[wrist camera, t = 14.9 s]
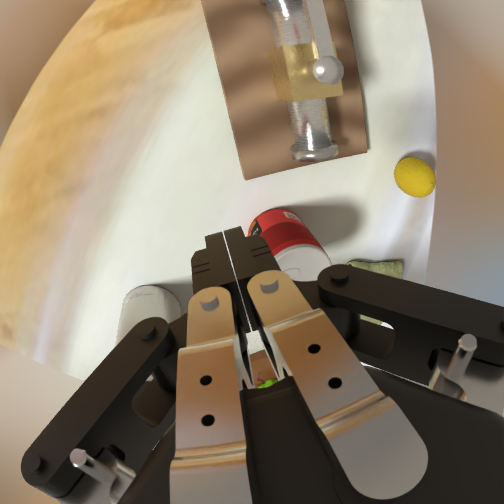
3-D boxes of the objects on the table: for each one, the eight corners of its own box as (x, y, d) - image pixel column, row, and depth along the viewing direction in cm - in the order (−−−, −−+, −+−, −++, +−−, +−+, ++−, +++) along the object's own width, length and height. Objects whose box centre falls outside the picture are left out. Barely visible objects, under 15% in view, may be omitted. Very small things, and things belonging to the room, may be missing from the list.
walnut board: (361, 150, 39) (367, 152, 38) (243, 176, 38) (245, 180, 37) (334, -15, 27) (339, -18, 25) (200, -4, 26) (200, -7, 24)
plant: (298, 330, 55) (318, 377, 46) (323, 377, 66) (340, 416, 56) (203, 372, 57) (209, 420, 47) (245, 410, 67) (255, 450, 58)
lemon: (408, 146, 40) (443, 161, 34) (414, 177, 43) (446, 196, 37) (381, 158, 41) (414, 175, 34) (388, 190, 44) (419, 211, 37)
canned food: (240, 215, 41) (258, 259, 32) (297, 200, 42) (330, 237, 32) (252, 262, 45) (271, 311, 36) (304, 246, 46) (334, 291, 36)
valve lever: (339, 82, 25) (346, 83, 24) (312, 85, 25) (319, 86, 24) (308, -48, 17) (314, -53, 16) (280, -48, 17) (285, -53, 16)
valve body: (326, 145, 37) (359, 162, 30) (285, 153, 37) (311, 173, 30) (298, -4, 26) (328, -23, 19) (252, -1, 26) (272, -23, 19)
